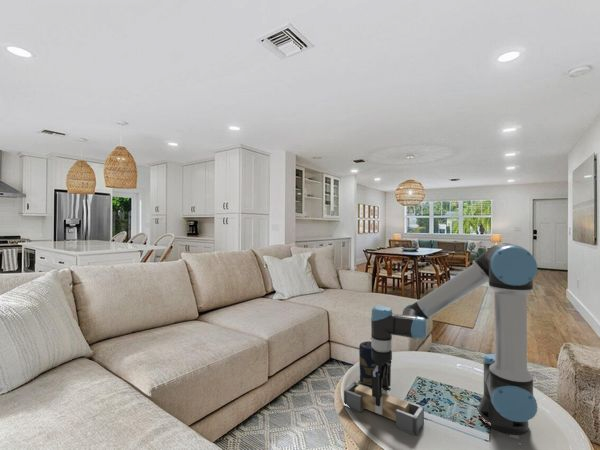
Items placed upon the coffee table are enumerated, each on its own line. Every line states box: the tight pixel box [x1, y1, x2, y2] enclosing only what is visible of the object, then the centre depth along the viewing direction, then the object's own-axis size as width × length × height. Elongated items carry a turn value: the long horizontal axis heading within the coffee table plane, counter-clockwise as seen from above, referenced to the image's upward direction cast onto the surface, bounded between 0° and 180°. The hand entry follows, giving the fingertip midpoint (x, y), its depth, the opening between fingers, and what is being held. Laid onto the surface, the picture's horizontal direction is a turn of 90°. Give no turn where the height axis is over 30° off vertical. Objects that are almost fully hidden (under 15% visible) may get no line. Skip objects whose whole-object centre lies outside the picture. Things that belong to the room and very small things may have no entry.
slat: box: [355, 384, 409, 422], centre depth 116 cm, size 20×4×6 cm, turn 52°
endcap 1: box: [343, 381, 371, 413], centre depth 122 cm, size 7×8×6 cm
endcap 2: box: [395, 399, 425, 437], centre depth 109 cm, size 7×8×6 cm
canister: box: [358, 340, 375, 387], centre depth 139 cm, size 10×10×18 cm
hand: (381, 409), depth 116 cm, fingers closed on slat, 4 cm apart
